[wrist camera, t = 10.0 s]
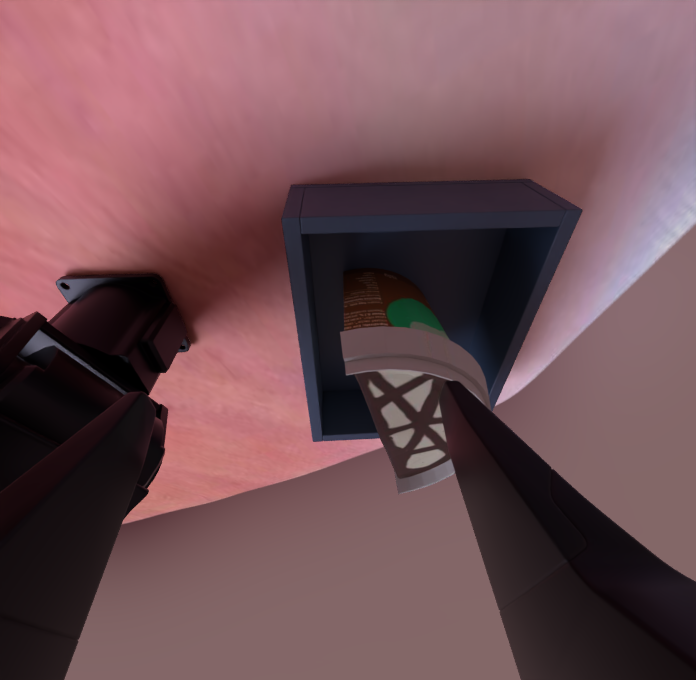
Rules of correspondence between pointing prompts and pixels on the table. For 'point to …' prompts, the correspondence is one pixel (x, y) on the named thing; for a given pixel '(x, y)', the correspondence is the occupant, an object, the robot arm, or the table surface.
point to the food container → (404, 371)
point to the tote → (420, 273)
